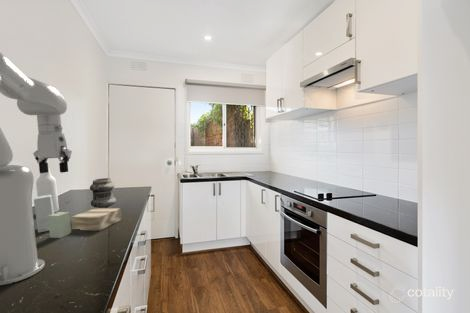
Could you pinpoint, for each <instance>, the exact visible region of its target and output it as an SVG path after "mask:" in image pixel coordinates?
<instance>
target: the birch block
mask: <svg viewBox="0 0 470 313" xmlns="http://www.w3.org/2000/svg"><path fill="white" fill-rule="evenodd" d="M121 220H122V208H120V207H108V208H96V207H93V208H91V209H88V210H86V211H84V212H80V213H78V214H75V215H73V216H71V217H70V222H71V230H72V229H80V230H79V231H98V230H99V232H100V231H102V230H104V229H106V228H108V227H110V226H112V225H114V224H116V223H118V222H120V221H121Z"/></svg>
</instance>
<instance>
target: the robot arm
mask: <svg viewBox="0 0 470 313" xmlns="http://www.w3.org/2000/svg"><path fill="white" fill-rule="evenodd" d="M0 94H2V95H3V96H4V97H6V98H9V99H13V100H16V107H17V108H18V110H19V111H20V112H21V113H22V114H25V115H27V116H36V120H37V130H38V132H37V133H38V134H37V141H36V144H37V145H36V146H37V149H36V150H35V151H34V152H33V153H32V154H33V156H34V158H35V161H36V162H37V164H38V170H39V174H40V173H47V172H48V163H46V161H47V160H48V161H49V159H58V161H59V163H58V164H59V173H60V174H61V173H62V174H63V173H68V172H69V165H68V162H70V161H69V160H70V159H71V155H72V153H73V152H72V150H70V149H68V143H67V141H66V137H65V133H64V132H63V131H62V130H63V127H62V119H61V118H62V117H61V115H63V114H65V113H66V112H67V109H68V106H67V101H66V99H65V98H64V96H63V95H62V93H60V91H59V90H58V89H56V88H55V87H54V86H52V85H50V84H47V83H45V82H42V81H40V80H37V79H35V78H31V77H30V76H29V77H28V76H26V74H25V73H24V72H22V71H21V69H19V68H18V67H17V66H16V65H15V64H14V63H13V62H12V61H11V60H10V59H9V58H8V57H7V56H5V55H4V54H3V53H1V52H0ZM13 154H14V153H13V150H12V147H11V146H10V144H9V142H8V139H7V138H6V136H5V133H4V132H3V130H2V128H1V127H0V286H4V285H10V284H13V282H14V283H17V282H19V281H24V280H25V279H27V278H30V277H32V276H34V275H36V274H38V273H39V272H40V271H42V270H43V269H44V268H45V266H46V262H45V260H44V259H41V258H38V251H37V250H38V249H37V240H36V231H35V222H34V215H33V214H34V212H33V211H34V210H33V190H34V181H35V180H34V174H33V172H32V171H31V169H29V168H28V167H27V166H24V165H19V164H18V165H17V164H10V163H11V162H12V161H13V157H14V155H13Z"/></svg>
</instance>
